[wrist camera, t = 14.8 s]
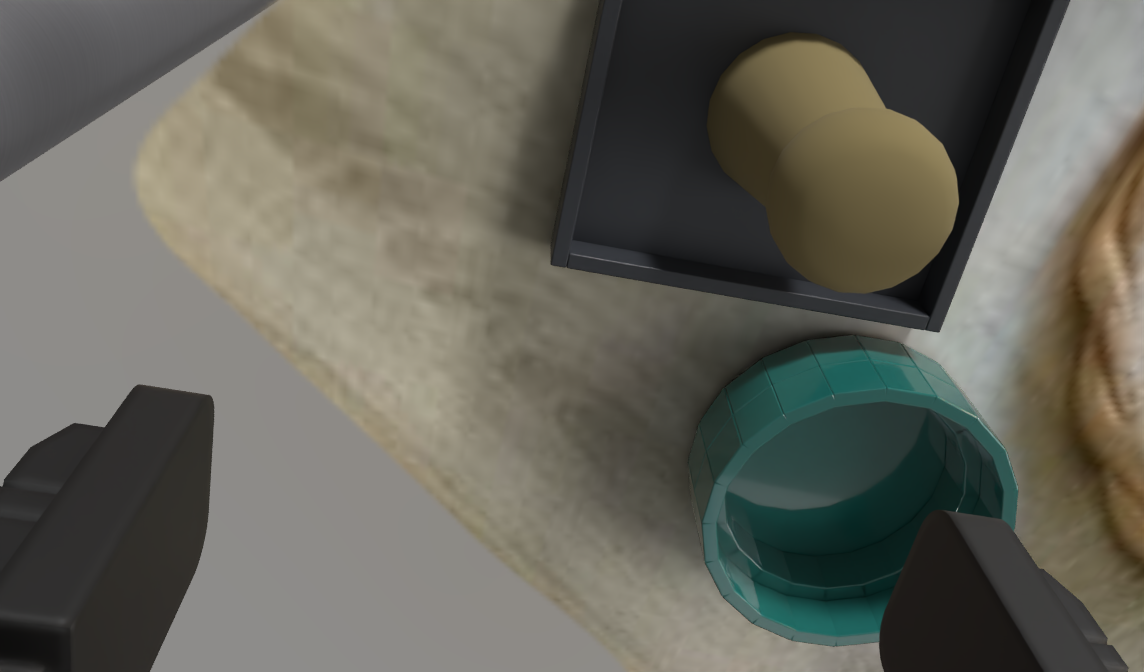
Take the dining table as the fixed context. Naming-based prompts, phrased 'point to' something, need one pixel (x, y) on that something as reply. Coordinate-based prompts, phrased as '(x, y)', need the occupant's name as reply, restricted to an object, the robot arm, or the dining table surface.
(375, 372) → the dining table surface
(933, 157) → the cork
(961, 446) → the bowl
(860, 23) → the tray
